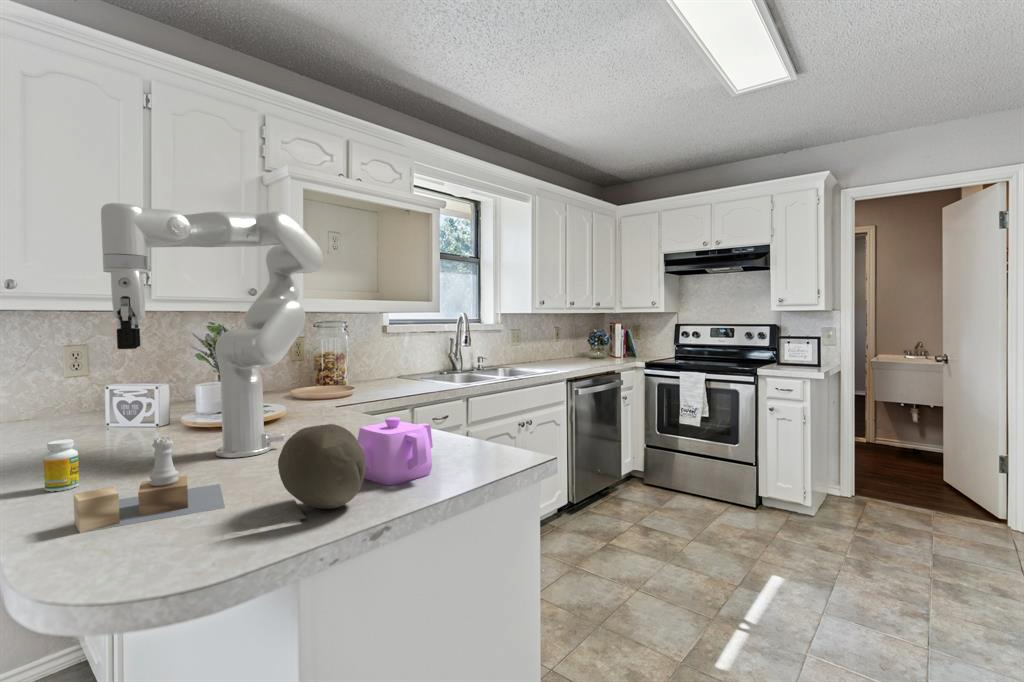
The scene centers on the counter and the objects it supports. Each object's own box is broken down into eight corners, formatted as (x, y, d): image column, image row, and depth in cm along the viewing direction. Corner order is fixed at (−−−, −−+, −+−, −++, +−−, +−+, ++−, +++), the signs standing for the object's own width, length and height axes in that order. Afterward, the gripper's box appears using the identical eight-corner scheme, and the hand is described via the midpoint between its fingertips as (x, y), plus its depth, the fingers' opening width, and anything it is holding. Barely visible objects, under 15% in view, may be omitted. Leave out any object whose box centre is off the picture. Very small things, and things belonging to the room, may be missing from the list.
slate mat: (219, 487, 105) (219, 483, 105) (225, 512, 91) (225, 507, 91) (93, 507, 94) (93, 503, 94) (78, 538, 81) (78, 533, 81)
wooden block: (187, 496, 97) (187, 475, 97) (188, 507, 91) (187, 485, 91) (141, 503, 94) (141, 482, 94) (139, 516, 88) (138, 492, 88)
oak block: (113, 515, 88) (111, 486, 88) (119, 523, 85) (118, 493, 84) (74, 524, 84) (73, 494, 84) (80, 532, 81) (78, 501, 81)
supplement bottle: (50, 486, 107) (48, 440, 107) (83, 482, 109) (81, 437, 109) (40, 494, 102) (38, 445, 102) (75, 490, 105) (73, 442, 104)
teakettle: (428, 485, 106) (427, 424, 105) (343, 487, 105) (342, 426, 104) (436, 462, 123) (435, 410, 122) (363, 464, 122) (362, 411, 121)
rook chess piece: (156, 488, 90) (154, 442, 89) (144, 484, 92) (142, 439, 92) (184, 481, 93) (182, 437, 93) (171, 478, 96) (170, 434, 95)
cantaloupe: (344, 490, 103) (342, 414, 102) (379, 508, 92) (378, 424, 92) (269, 508, 93) (266, 425, 92) (299, 531, 83) (297, 437, 82)
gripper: (145, 262, 103) (149, 349, 103) (150, 269, 117) (153, 345, 118) (97, 260, 99) (101, 350, 99) (107, 268, 113) (111, 347, 114)
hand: (129, 347), depth 109 cm, fingers open, 9 cm apart
